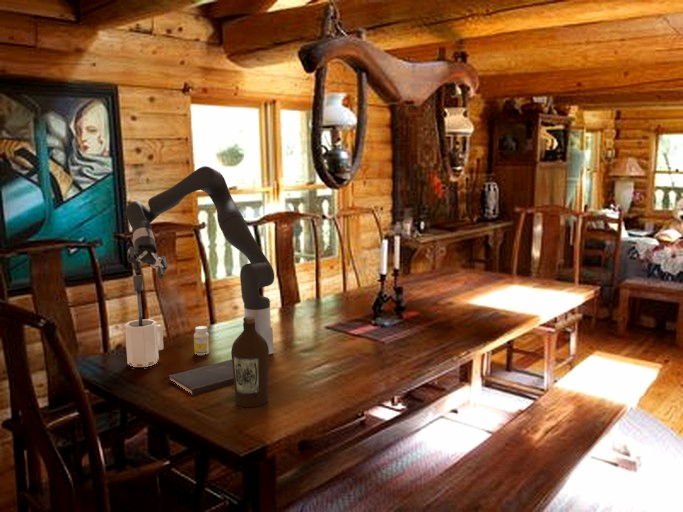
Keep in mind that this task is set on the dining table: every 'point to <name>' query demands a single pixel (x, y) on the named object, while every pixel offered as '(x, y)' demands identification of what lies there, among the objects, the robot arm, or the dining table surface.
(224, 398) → the dining table surface
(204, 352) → the supplement bottle
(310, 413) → the dining table surface
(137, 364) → the octagonal white mug
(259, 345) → the olive oil
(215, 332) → the dining table surface
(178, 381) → the hardcover book
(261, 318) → the robot arm
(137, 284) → the plunger
